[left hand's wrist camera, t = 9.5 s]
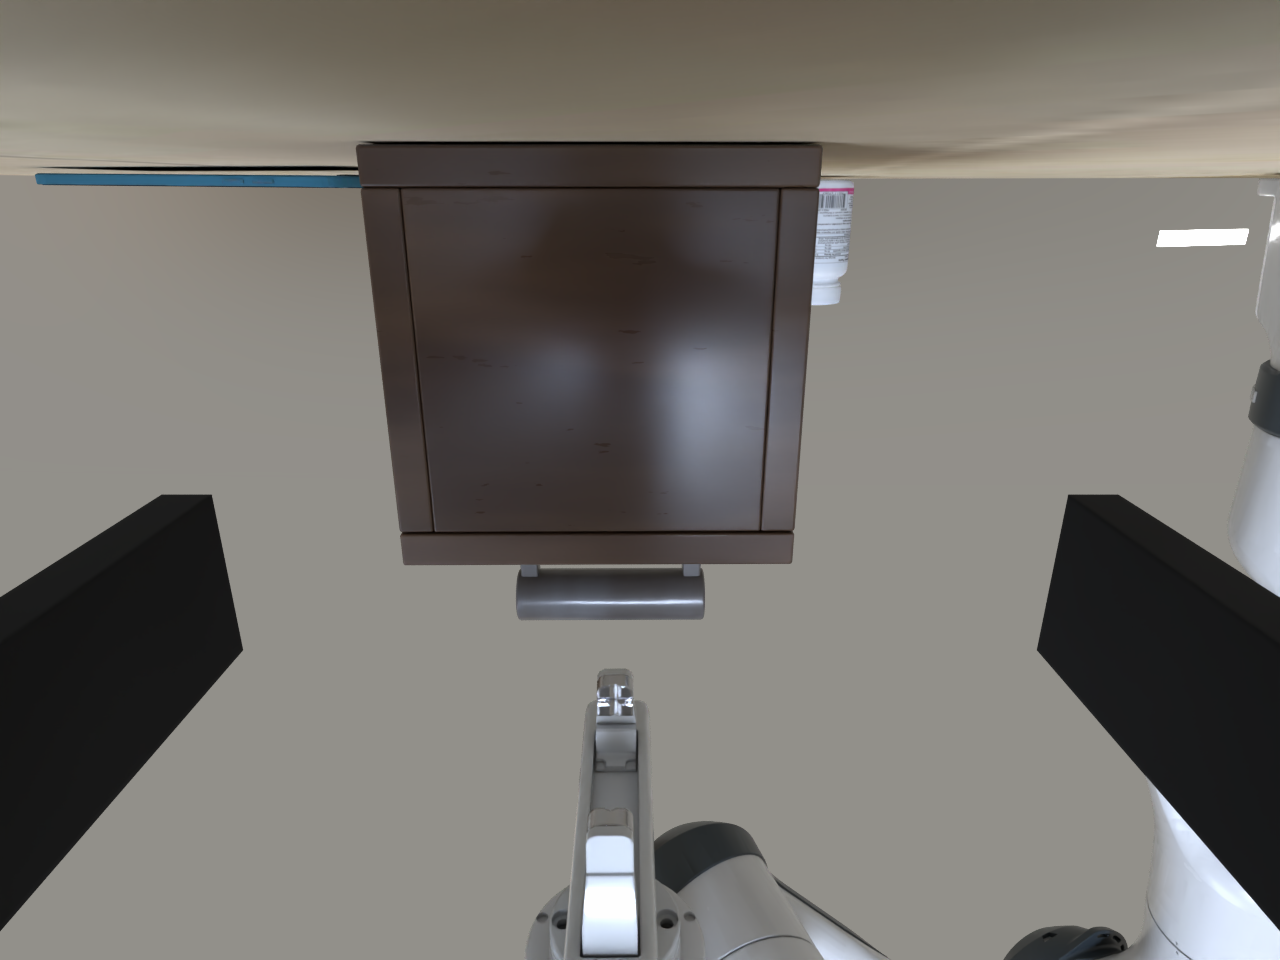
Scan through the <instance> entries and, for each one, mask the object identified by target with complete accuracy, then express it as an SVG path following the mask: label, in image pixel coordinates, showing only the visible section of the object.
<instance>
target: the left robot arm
mask: <svg viewBox="0 0 1280 960" xmlns="http://www.w3.org/2000/svg"><path fill="white" fill-rule="evenodd" d="M242 651H243V647H242V642H241V637H240V632H239V628H238V623H237V618H236V613H235V608H234V603H233V598H232V593H231V588H230V583H229V578H228V573H227V568H226V563H225V558H224V553H223V548H222V543H221V539H220V533H219V529H218V524H217V519H216V514H215V509H214V504H213V499H212V495H160V496H159V497H157V498H156V499H154V500H153V501H151V502H149V503H148V504H146V505H145V506H143V507H141V508H140V509H138V510H137V511H135V512H134V513H132V514H131V515H129V516H127V517H126V518H124V519H123V520H121V521H120V522H118V523H116V524H115V525H113V526H112V527H110V528H109V529H107V530H105V531H104V532H102V533H101V534H99V535H97V536H96V537H94V538H93V539H91V540H90V541H88V542H86V543H85V544H83V545H82V546H80V547H79V548H77V549H75V550H74V551H72V552H71V553H69V554H68V555H66V556H64V557H63V558H61V559H60V560H58V561H57V562H55V563H53V564H52V565H50V566H49V567H47V568H46V569H44V570H42V571H41V572H39V573H38V574H36V575H34V576H33V577H31V578H30V579H28V580H27V581H25V582H23V583H22V584H20V585H19V586H17V587H16V588H14V589H12V590H11V591H9V592H8V593H6V594H5V595H3V596H2V597H0V931H1V930H2V929H3V927H4V926H5V925H6V924H7V923H8V922H9V920H10V919H11V918H12V917H13V916H14V915H15V913H16V912H17V911H18V910H19V909H20V908H21V907H22V905H23V904H24V903H25V902H26V901H27V900H28V898H29V897H30V896H31V895H32V894H33V893H34V891H35V890H36V889H37V888H38V887H39V886H40V885H41V883H42V882H43V881H44V880H45V879H46V877H47V876H48V875H49V874H50V873H51V872H52V871H53V869H54V868H55V867H56V866H57V865H58V864H59V862H60V861H61V860H62V859H63V858H64V857H65V856H66V854H67V853H68V852H69V851H70V850H71V849H72V848H73V846H74V845H75V844H76V843H77V842H78V841H79V839H80V838H81V837H82V836H83V835H84V834H85V832H86V831H87V830H88V829H89V828H90V827H91V826H92V824H93V823H94V822H95V821H96V820H97V819H98V817H99V816H100V815H101V814H102V813H103V812H104V810H105V809H106V808H107V807H108V806H109V805H110V804H111V802H112V801H113V800H114V799H115V798H116V797H117V795H118V794H119V793H120V792H121V791H122V790H123V788H124V787H125V786H126V785H127V784H128V783H129V782H130V780H131V779H132V778H133V777H134V776H135V775H136V773H137V772H138V771H139V770H140V769H141V768H142V766H143V765H144V764H145V763H146V762H147V761H148V759H149V758H150V757H151V756H152V755H153V754H154V753H155V751H156V750H157V749H158V748H159V747H160V746H161V744H162V743H163V742H164V741H165V740H166V739H167V737H168V736H169V735H170V734H171V733H172V732H173V731H174V729H175V728H176V727H177V726H178V725H179V724H180V723H181V721H182V720H183V719H184V718H185V717H186V716H187V714H188V713H189V712H190V711H191V710H192V708H193V707H194V706H195V705H196V704H197V703H198V702H199V701H200V699H201V698H202V697H203V696H204V695H205V694H206V692H207V691H208V690H209V689H210V688H211V687H212V685H213V684H214V683H215V682H216V681H217V680H218V679H219V677H220V676H221V675H222V674H223V673H224V671H225V670H226V669H227V668H228V667H229V666H230V665H231V663H232V662H233V661H234V660H235V659H236V658H237V657H238V655H239V654H240V653H241V652H242ZM1037 651H1038V652H1039V653H1040V654H1041V655H1042V657H1043V658H1044V659H1045V660H1046V661H1047V662H1048V663H1049V665H1050V666H1051V667H1052V668H1053V669H1054V670H1055V672H1056V673H1057V674H1058V675H1059V676H1060V677H1061V679H1062V680H1063V681H1064V682H1065V683H1066V684H1067V685H1068V687H1069V688H1070V689H1071V690H1072V691H1073V692H1074V694H1075V695H1076V696H1077V697H1078V698H1079V699H1080V701H1081V702H1082V703H1083V704H1084V705H1085V706H1086V707H1087V709H1088V710H1089V711H1090V712H1091V713H1092V714H1093V716H1094V717H1095V718H1096V719H1097V720H1098V721H1099V722H1100V724H1101V725H1102V726H1103V727H1104V728H1105V729H1106V731H1107V732H1108V733H1109V734H1110V735H1111V736H1112V738H1113V739H1114V740H1115V741H1116V742H1117V743H1118V745H1119V746H1120V747H1121V748H1122V749H1123V750H1124V751H1125V753H1126V754H1127V755H1128V756H1129V757H1130V758H1131V760H1132V761H1133V762H1134V763H1135V764H1136V765H1137V766H1138V768H1139V769H1140V770H1141V771H1142V772H1143V773H1144V775H1145V776H1146V777H1147V778H1148V779H1149V780H1150V782H1151V783H1152V784H1153V785H1154V786H1155V787H1156V788H1157V790H1158V791H1159V792H1160V793H1161V794H1162V795H1163V797H1164V798H1165V799H1166V800H1167V801H1168V802H1169V804H1170V805H1171V806H1172V807H1173V808H1174V809H1175V810H1176V812H1177V813H1178V814H1179V815H1180V816H1181V817H1182V819H1183V820H1184V821H1185V822H1186V823H1187V824H1188V826H1189V827H1190V828H1191V829H1192V830H1193V831H1194V832H1195V834H1196V835H1197V836H1198V837H1199V838H1200V839H1201V841H1202V842H1203V843H1204V844H1205V845H1206V846H1207V848H1208V849H1209V850H1210V851H1211V852H1212V853H1213V854H1214V856H1215V857H1216V858H1217V859H1218V860H1219V861H1220V863H1221V864H1222V865H1223V866H1224V867H1225V868H1226V869H1227V871H1228V872H1229V873H1230V874H1231V875H1232V876H1233V878H1234V879H1235V880H1236V881H1237V882H1238V883H1239V885H1240V886H1241V887H1242V888H1243V889H1244V890H1245V891H1246V893H1247V894H1248V895H1249V896H1250V897H1251V898H1252V900H1253V901H1254V902H1255V903H1256V904H1257V905H1258V907H1259V908H1260V909H1261V910H1262V911H1263V912H1264V913H1265V915H1266V916H1267V917H1268V918H1269V919H1270V920H1271V922H1272V923H1273V924H1274V925H1275V926H1276V927H1277V929H1278V930H1279V931H1280V597H1279V596H1277V595H1275V594H1274V593H1272V592H1271V591H1269V590H1268V589H1266V588H1264V587H1263V586H1261V585H1260V584H1258V583H1257V582H1255V581H1253V580H1252V579H1250V578H1249V577H1247V576H1246V575H1244V574H1242V573H1241V572H1239V571H1238V570H1236V569H1234V568H1233V567H1231V566H1230V565H1228V564H1227V563H1225V562H1223V561H1222V560H1220V559H1219V558H1217V557H1216V556H1214V555H1212V554H1211V553H1209V552H1208V551H1206V550H1205V549H1203V548H1201V547H1200V546H1198V545H1197V544H1195V543H1194V542H1192V541H1190V540H1189V539H1187V538H1186V537H1184V536H1183V535H1181V534H1179V533H1178V532H1176V531H1175V530H1173V529H1172V528H1170V527H1168V526H1167V525H1165V524H1164V523H1162V522H1160V521H1159V520H1157V519H1156V518H1154V517H1153V516H1151V515H1150V514H1148V513H1146V512H1145V511H1143V510H1142V509H1140V508H1138V507H1137V506H1135V505H1134V504H1132V503H1131V502H1129V501H1127V500H1126V499H1124V498H1123V497H1121V496H1120V495H1068V499H1067V504H1066V509H1065V514H1064V519H1063V524H1062V529H1061V534H1060V538H1059V543H1058V548H1057V553H1056V558H1055V563H1054V568H1053V573H1052V578H1051V583H1050V588H1049V593H1048V598H1047V603H1046V608H1045V613H1044V618H1043V623H1042V627H1041V632H1040V637H1039V642H1038V647H1037Z"/></svg>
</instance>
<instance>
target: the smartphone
mask: <svg viewBox="0 0 1280 960" xmlns="http://www.w3.org/2000/svg"><path fill="white" fill-rule="evenodd" d="M35 177H36V181H37V184H43V185H53V184H54V185H103V186H204V187H306V188H364V187H362V186H361V185H360V179H359V175H337V176H321V175H192V174H60V173H38V174H35Z"/></svg>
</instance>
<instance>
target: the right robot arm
mask: <svg viewBox="0 0 1280 960" xmlns="http://www.w3.org/2000/svg"><path fill="white" fill-rule="evenodd" d="M1257 194H1258V195H1260V196H1275V197H1274V202H1273V208H1272V214H1271V220H1270V225H1269V231H1268V237H1267V243H1266V248H1265V254H1264V260H1263V266H1262V272H1261V278H1260V284H1259V290H1258V297H1257V303H1256V316H1257V318H1258V320H1259V322H1260V324H1261V325H1262V326H1263V328H1264V330H1265V332H1266V334H1267V337H1268V341H1269V346H1270V352H1271V359H1270V360H1268V361H1266V362H1264V363H1263V364H1261V366H1260V370H1259V373H1258V377H1257V381H1256V384H1255V385H1254V386H1253V388H1252V392H1251V396H1250V400H1251V406H1250V411H1249V416H1248V417H1249V419H1250V420H1251V422H1252V423H1253V424H1254V426H1253V430H1252V434H1251V437H1250V441H1249V445H1248V448H1247V452H1246V455H1245V459H1244V462H1243V466H1242V469H1241V473H1240V476H1239V480H1238V484H1237V487H1236V491H1235V494H1234V498H1233V502H1232V505H1231V509H1230V512H1229V516H1228V520H1227V533H1228V539H1229V543H1230V546H1231V549H1232V551H1233V553H1234V555H1235V557H1236V559H1237V560H1238V562H1239V563H1240V564H1241V566H1242V567H1243V568H1244V570H1245V571H1246V572H1247V573H1248V575H1249V576H1250V577H1251V578H1252V579H1253V580H1254V581H1255V582H1257V583H1258V584H1260V585H1261V586H1263V587H1264V588H1266V589H1268V590H1269V591H1271V592H1272V593H1274V594H1275V595H1277V596H1279V597H1280V178H1276V179H1259V183H1258V191H1257ZM1248 231H1249V230H1248V229H1226V230H1176V231H1160V234H1159V239H1158V243H1157V246H1160V247H1163V246H1198V245H1233V244H1245V242H1246V238H1247V234H1248ZM1145 777H1146V776H1145ZM1146 781H1147V784H1148V788H1149V792H1150V796H1151V800H1152V806H1153V812H1154V837H1153V849H1152V858H1151V866H1150V874H1149V880H1148V886H1147V892H1146V900H1145V908H1144V921H1143V925H1142V929H1141V933H1140V935H1139V937H1138V938H1137V940H1136V941H1135V942H1134V943H1133V944H1132V945H1131V946H1130V947H1129V948H1128V947H1127V943H1126V940H1125V939H1124V937H1123V936H1122V935H1121V934H1120V933H1118V932H1116V931H1114V930H1112V929H1110V928H1107V927H1093V928H1090V929H1085V928H1082V927H1079V926H1054V927H1046V928H1042V929H1039V930H1036V931H1034V932H1032V933H1030V934H1029V935H1027V936H1025V937H1024V938H1023V939H1021V940H1020V941H1019V942H1018V943H1017V944H1016V945H1015V946H1014V947H1013V948H1012V949H1011V950H1010V951H1009V953H1008V954H1007V955H1006V957H1005V958H1004V960H1280V931H1279V930H1278V929H1277V927H1276V926H1275V925H1274V924H1273V923H1272V922H1271V920H1270V919H1269V918H1268V917H1267V916H1266V915H1265V913H1264V912H1263V911H1262V910H1261V909H1260V908H1259V907H1258V905H1257V904H1256V903H1255V902H1254V901H1253V900H1252V898H1251V897H1250V896H1249V895H1248V894H1247V893H1246V891H1245V890H1244V889H1243V888H1242V887H1241V886H1240V885H1239V883H1238V882H1237V881H1236V880H1235V879H1234V878H1233V876H1232V875H1231V874H1230V873H1229V872H1228V871H1227V869H1226V868H1225V867H1224V866H1223V865H1222V864H1221V863H1220V861H1219V860H1218V859H1217V858H1216V857H1215V856H1214V854H1213V853H1212V852H1211V851H1210V850H1209V849H1208V848H1207V846H1206V845H1205V844H1204V843H1203V842H1202V841H1201V839H1200V838H1199V837H1198V836H1197V835H1196V834H1195V832H1194V831H1193V830H1192V829H1191V828H1190V827H1189V826H1188V824H1187V823H1186V822H1185V821H1184V820H1183V819H1182V817H1181V816H1180V815H1179V814H1178V813H1177V812H1176V810H1175V809H1174V808H1173V807H1172V806H1171V805H1170V804H1169V802H1168V801H1167V800H1166V799H1165V798H1164V797H1163V795H1162V794H1161V793H1160V792H1159V791H1158V790H1157V788H1156V787H1155V786H1154V785H1153V784H1152V783H1151V782H1150V780H1149V779H1148V778H1147V777H1146ZM525 960H890V959H889V958H887V957H886V956H885V955H883V954H882V953H881V952H879V951H878V950H876V949H875V948H874V947H872V946H871V945H870V944H868V943H867V942H866V941H865V940H863V939H862V938H861V937H860V936H858V935H857V934H856V933H854V932H853V931H851V930H850V929H849V928H847V927H846V926H844V925H843V924H842V923H840V922H839V921H837V920H836V919H834V918H833V917H832V916H830V915H829V914H827V913H826V912H824V911H823V910H821V909H820V908H819V907H817V906H816V905H814V904H813V903H811V902H810V901H808V900H807V899H806V898H804V897H803V896H801V895H800V894H798V893H797V892H795V891H794V890H792V889H791V888H790V887H788V886H787V885H785V884H784V883H783V882H781V881H780V880H778V879H777V878H776V877H775V876H774V875H773V874H772V873H771V872H770V871H769V870H768V867H767V865H766V862H765V859H764V858H763V856H762V854H761V852H760V851H759V849H758V847H757V845H756V843H755V842H754V840H753V838H752V837H751V835H750V834H749V833H748V832H747V831H746V830H744V829H743V828H741V827H739V826H737V825H733V824H729V823H722V822H713V821H701V822H692V823H687V824H683V825H680V826H677V827H675V828H673V829H671V830H669V831H667V832H666V833H664V834H663V835H661V836H660V837H659V838H657V839H656V840H655V841H654V829H653V799H652V769H651V740H650V716H649V710H648V706H647V704H646V703H645V702H643V701H641V700H634V698H633V674H632V672H631V671H630V670H628V669H603V670H602V671H600V672H599V674H598V681H597V700H596V701H592V702H590V703H589V704H588V706H587V709H586V715H585V724H584V735H583V746H582V757H581V768H580V779H579V791H578V802H577V813H576V825H575V835H574V847H573V858H572V869H571V880H570V885H569V886H568V887H566V888H565V889H563V890H562V891H560V892H559V893H558V894H556V895H555V896H554V897H553V898H552V899H551V900H550V901H549V902H548V903H547V904H546V905H545V906H544V907H543V909H542V910H541V911H540V913H539V914H538V916H537V917H536V919H535V921H534V923H533V925H532V927H531V930H530V932H529V935H528V939H527V943H526V949H525Z"/></svg>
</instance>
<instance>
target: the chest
mask: <svg viewBox="0 0 1280 960" xmlns="http://www.w3.org/2000/svg"><path fill="white" fill-rule="evenodd" d="M822 152H823V148H822V146H821V145H584V144H359V145H357V146H356V153H357V162H358V171H359V179H360V185H361V186H362V187H364V188H362V189H361V198H362V207H363V215H364V224H365V233H366V241H367V250H368V259H369V267H370V276H371V285H372V293H373V302H374V311H375V320H376V328H377V337H378V346H379V354H380V363H381V372H382V380H383V389H384V398H385V406H386V415H387V424H388V432H389V441H390V450H391V458H392V467H393V476H394V484H395V493H396V502H397V510H398V519H399V528H400V531H401V532H432V531H434V530H435V532H535V531H759V530H760V528H761V530H763V531H792V530H794V528H795V515H796V502H797V489H798V475H799V462H800V449H801V435H802V422H803V408H804V395H805V381H806V368H807V355H808V341H809V328H810V314H811V301H812V288H813V274H814V261H815V248H816V234H817V221H818V207H819V194H820V191H819V189H818V188H817V187H819V185H820V179H821V165H822Z"/></svg>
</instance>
